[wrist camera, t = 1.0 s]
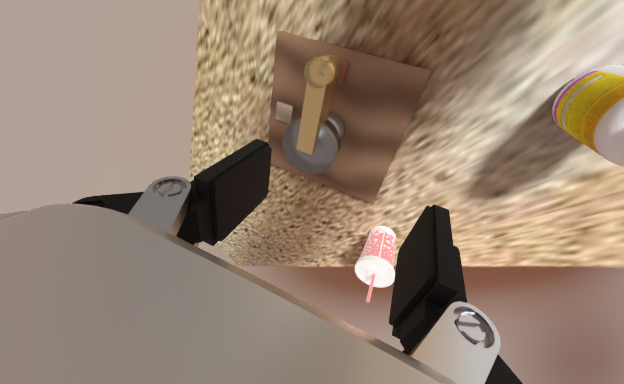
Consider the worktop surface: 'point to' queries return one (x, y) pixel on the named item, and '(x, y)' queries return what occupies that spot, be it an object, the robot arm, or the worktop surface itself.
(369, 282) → the beverage cup
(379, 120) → the post base
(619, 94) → the supplement bottle
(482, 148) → the worktop surface
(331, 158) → the brass lever handle
